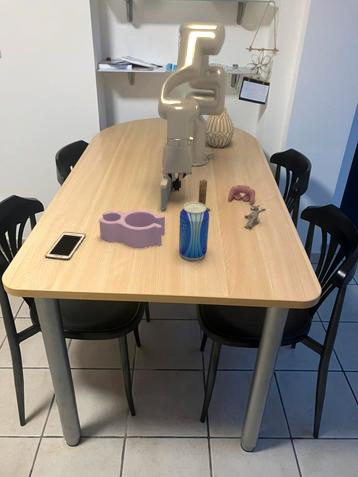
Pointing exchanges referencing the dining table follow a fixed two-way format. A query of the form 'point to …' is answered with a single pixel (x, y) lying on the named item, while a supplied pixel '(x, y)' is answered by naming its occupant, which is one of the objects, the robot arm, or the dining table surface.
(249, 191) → the video game controller
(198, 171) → the dining table surface
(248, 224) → the grey animal figurine
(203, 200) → the wooden pegs
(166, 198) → the bar
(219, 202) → the dining table surface
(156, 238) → the clip
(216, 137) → the vase
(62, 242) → the cell phone
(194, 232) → the beer can
